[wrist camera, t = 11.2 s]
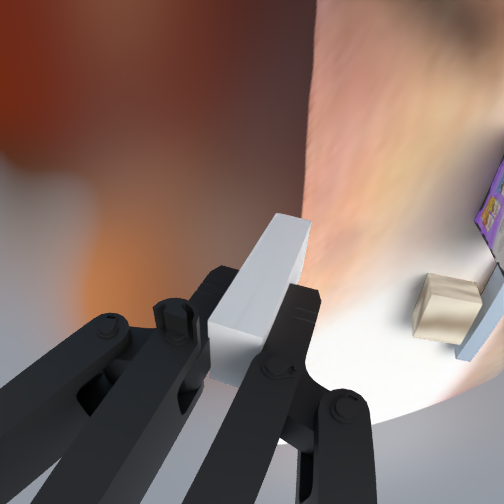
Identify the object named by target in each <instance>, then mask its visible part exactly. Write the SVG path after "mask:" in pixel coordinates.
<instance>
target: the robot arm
mask: <svg viewBox="0 0 504 504" xmlns="http://www.w3.org/2000/svg"><path fill="white" fill-rule="evenodd" d="M311 222H312V221H310V220H305V219H301V218H297V217H293V216H288V215H284V214H280V213H276V214H275V216H274V217H273V219H272V221H271V222H270V224H269V225H268V227H267V228H266V230H265V232H264V233H263V235H262V236H261V238H260V239H259V241H258V243H257V244H256V246H255V248H254V249H253V250H252V252H251V253H250V255H249V257H248V258H247V260H246V261H245V263H244V264H243V266H242V268H241V269H240V270H237V269H233V268H229V267H226V266H219V267H218V268H216V269H214V270H212V271H211V272H210V273H209V274H208V275H207V277H206V278H205V279H204V281H203V283H201V285H200V286H199V287H198V289H197V291H195V293H194V294H193V295H192V297H191V298H190V299H189V301H188V300H186V299H181V298H169V299H166V300H163V301H160V302H158V303H157V304H156V305H155V306H154V307H153V311H154V316H155V322H156V326H157V328H139V327H130V326H129V324H128V321H127V320H126V319H125V318H124V317H123V316H121V315H119V314H116V313H106V314H101V315H99V316H98V317H96V318H94V319H93V320H91V321H90V322H89V323H87V324H86V325H84V326H83V327H82V328H80V329H79V330H77V331H76V332H75V333H73V334H72V335H71V336H69V337H68V338H66V339H65V340H64V341H62V342H61V343H60V344H58V345H57V346H56V347H55V348H53V349H52V350H50V351H49V352H48V353H46V354H45V355H44V356H42V357H41V358H40V359H38V360H37V361H36V362H34V363H33V364H32V365H30V366H29V367H28V368H26V369H25V370H24V371H22V372H21V373H20V374H19V375H17V376H16V377H15V378H14V379H12V380H11V381H9V382H8V383H7V384H6V385H4V386H3V387H2V388H1V389H0V504H6V503H7V502H9V501H10V500H11V499H12V498H13V497H15V496H16V495H17V494H19V493H20V492H21V491H22V490H23V489H25V488H26V487H27V486H28V485H29V484H30V483H32V482H33V481H34V480H35V479H37V478H38V477H39V476H40V475H41V474H42V473H44V472H45V471H46V470H47V469H48V468H49V467H51V466H52V465H53V464H54V463H55V462H57V461H58V460H59V459H60V458H61V457H62V456H63V457H62V458H61V459H60V461H59V462H58V464H57V465H56V467H55V468H54V470H53V471H52V472H51V474H50V475H49V477H48V478H47V480H46V481H45V483H44V484H43V486H42V487H41V489H40V490H39V492H38V493H37V495H36V496H35V497H34V499H33V500H32V502H31V503H30V504H140V502H141V500H142V499H143V497H144V495H145V494H146V492H147V490H148V488H149V487H150V485H151V483H152V481H153V480H154V478H155V476H156V474H157V473H158V471H159V469H160V467H161V466H162V464H163V462H164V460H165V458H166V457H167V455H168V453H169V451H170V450H171V448H172V446H173V444H174V442H175V441H176V439H177V437H178V435H179V433H180V432H181V430H182V428H183V426H184V424H185V423H186V421H187V419H188V417H189V415H190V414H191V412H192V410H193V408H194V406H195V404H196V402H197V401H198V399H199V397H200V395H201V393H202V391H203V388H204V378H205V377H206V375H207V373H208V371H209V370H210V378H212V379H215V380H218V381H221V382H224V383H226V384H229V385H232V386H235V387H238V388H239V390H238V392H237V394H236V396H235V398H234V400H233V402H232V404H231V406H230V408H229V411H228V413H227V415H226V417H225V419H224V421H223V423H222V425H221V427H220V429H219V431H218V433H217V435H216V438H215V439H214V441H213V443H212V445H211V447H210V449H209V452H208V454H207V456H206V457H205V459H204V461H203V463H202V465H201V467H200V469H199V471H198V473H197V475H196V477H195V479H194V481H193V483H192V485H191V487H190V489H189V491H188V493H187V495H186V496H185V498H184V500H183V502H182V504H254V502H255V500H256V498H257V495H258V493H259V490H260V488H261V485H262V483H263V480H264V478H265V475H266V472H267V470H268V467H269V465H270V462H271V459H272V457H273V454H274V451H275V448H276V446H277V443H278V441H279V438H281V439H283V440H284V441H286V442H287V443H289V444H290V445H292V446H293V447H295V448H296V449H298V459H297V481H296V501H295V504H377V491H376V475H375V462H374V449H373V439H372V430H371V420H370V411H369V408H368V405H367V402H366V401H365V400H364V399H363V397H362V396H361V395H359V394H358V393H356V392H354V391H352V390H348V389H336V390H332V391H329V390H328V389H326V388H324V387H322V386H321V385H319V384H318V383H317V382H315V381H314V380H313V379H312V378H311V377H310V375H309V374H308V372H307V370H306V366H305V359H306V355H307V351H308V348H309V344H310V341H311V337H312V334H313V330H314V327H315V323H316V320H317V316H318V312H319V308H320V305H321V299H320V295H319V292H318V290H315V289H311V288H307V287H304V286H300V285H297V284H298V281H299V279H300V276H301V273H302V268H303V263H304V258H305V253H306V248H307V243H308V238H309V232H310V227H311Z"/></svg>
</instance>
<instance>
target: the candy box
mask: <svg viewBox="0 0 504 504" xmlns="http://www.w3.org/2000/svg"><path fill="white" fill-rule="evenodd" d="M474 222H475V224H476V226H477V227H478V229H479V231H480V232H481V234H482V236H483V238H484V240H485V241H486V243H487V245H488V247H489V249H490V251H491V253H492V255H493V257H494V258H495V261H496V263H497V265H498V267H499V269H500V271H501V273H502V275H503V277H504V156H503V159H502V162H501V164H500V166H499V169H498V171H497V173H496V176H495V178H494V181H493V183H492V185H491V187H490V189H489V192H488V194H487V196H486V199H485V201H484V203H483V205H482V207H481V209H480V211H479V213H478V215H477V217H476V219H475V220H474Z"/></svg>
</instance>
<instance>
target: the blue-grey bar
mask: <svg viewBox="0 0 504 504" xmlns="http://www.w3.org/2000/svg"><path fill="white" fill-rule="evenodd" d="M480 297H481V300H482V303H483V304H482V306H481V308H480V310H479V312H478V314H477V316H476V318H475V320H474V322H473V323H472V325H471V327H470V329H469V331H468V332H467V334H466V336H465V338H464V339H463V341H462V343H461V344H460V345H457V344H454V350H455V358H456V359H459V360H464V361H469V362H470V361H471V360H472V359H473V357H474V356H475V355H476V353H477V352H478V351H479V349H480V348H481V347H482V345H483V344H484V342H485V341H486V340H487V338H488V337H489V335H490V334H491V332H492V331H493V329H494V328H495V326H496V325H497V323H498V322H499V320H500V319H501V317H502V316H503V314H504V277H503V275H502V273H501V271H500V269H499V267H498V265H497V266H496V268H495V270H494V272H493V274H492V276H491V278H490V279H489V281H488V283H487V285H486V287H485V289H484V291H483V292H482V294H481V296H480Z"/></svg>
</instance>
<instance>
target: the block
mask: <svg viewBox="0 0 504 504" xmlns="http://www.w3.org/2000/svg"><path fill="white" fill-rule="evenodd" d="M482 304H483V303H482V300H481V297H480V294H479V291H478V288H477V285H476V282H471V281H466V280H461V279H456V278H451V277H446V276H441V275H436V274H431V273H428V275H427V277H426V280H425V283H424V285H423V288H422V291H421V293H420V296H419V299H418V301H417V304H416V306H415V309H414V311H413V313H412V328H413V338H419V339H425V340H431V341H438V342H444V343H450V344H457V345H460V344H461V343H462V341H463V339H464V338H465V336H466V334H467V332H468V331H469V329H470V327H471V325H472V323H473V322H474V320H475V318H476V316H477V314H478V312H479V310H480V308H481V306H482Z"/></svg>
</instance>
